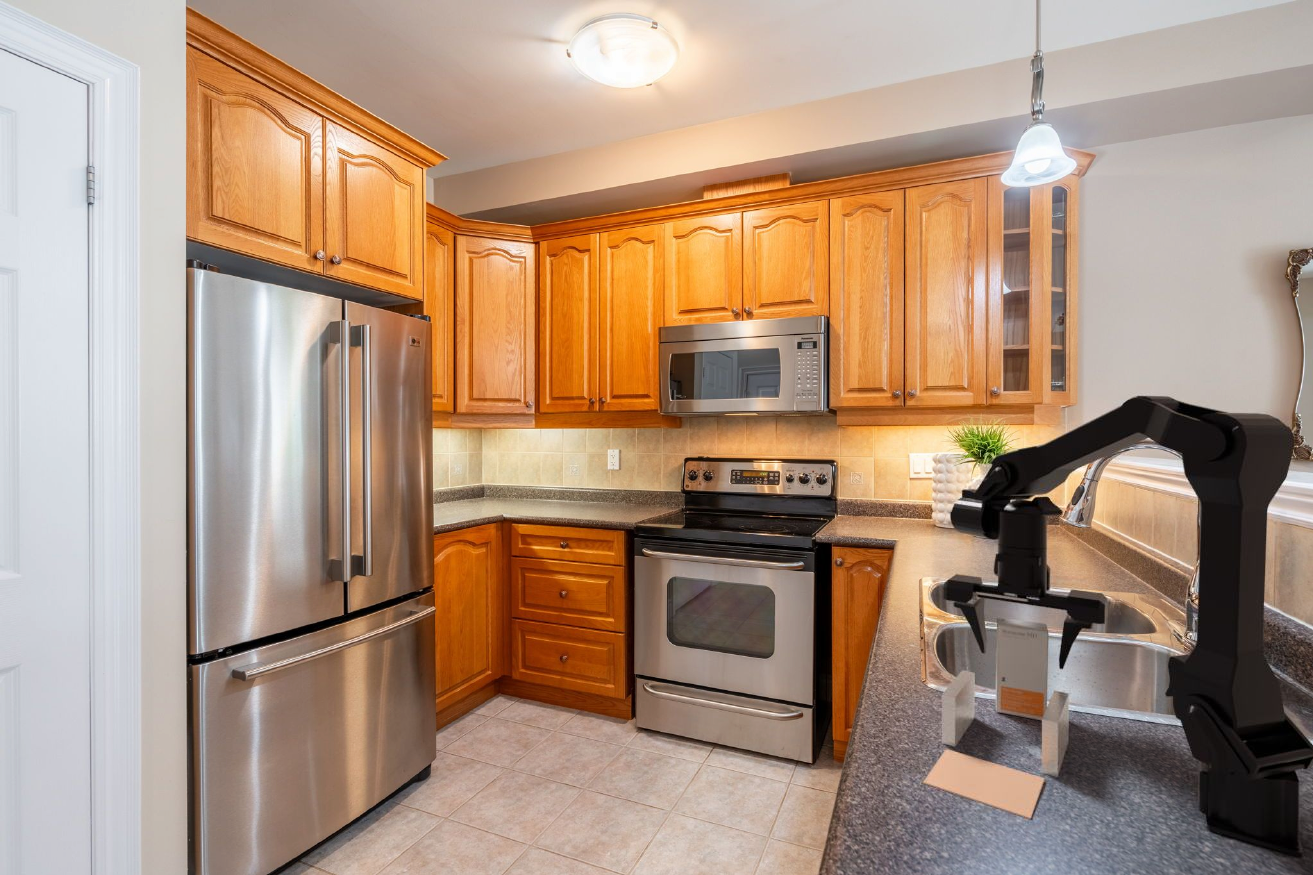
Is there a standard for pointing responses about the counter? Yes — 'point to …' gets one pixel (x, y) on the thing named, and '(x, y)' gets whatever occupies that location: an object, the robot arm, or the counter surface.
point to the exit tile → (986, 783)
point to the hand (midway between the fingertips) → (1021, 660)
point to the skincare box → (1021, 668)
